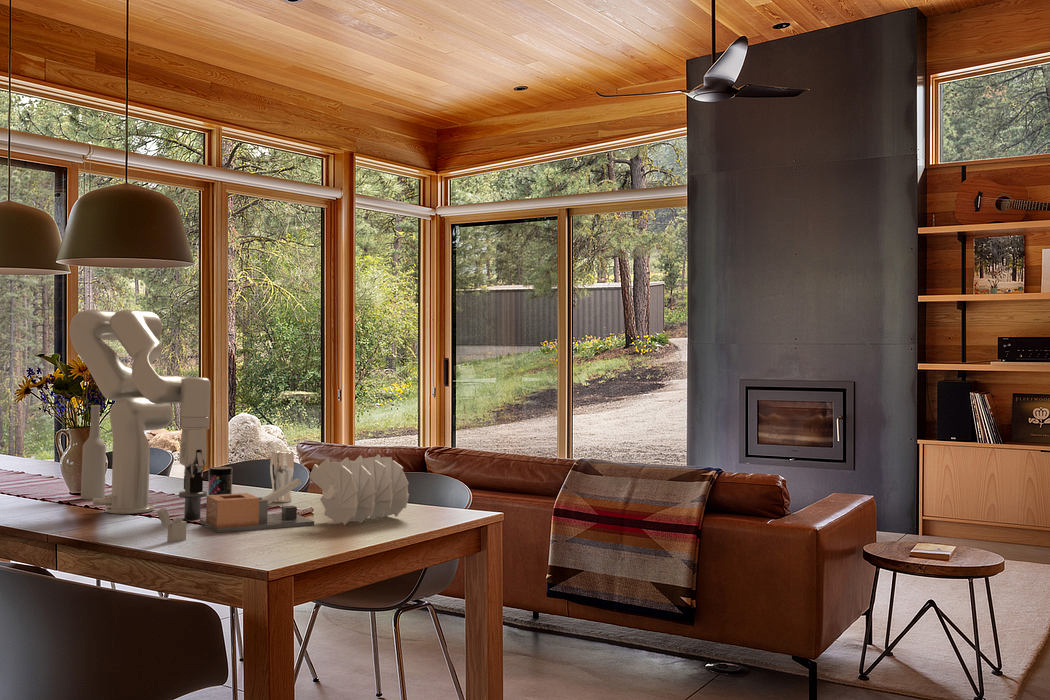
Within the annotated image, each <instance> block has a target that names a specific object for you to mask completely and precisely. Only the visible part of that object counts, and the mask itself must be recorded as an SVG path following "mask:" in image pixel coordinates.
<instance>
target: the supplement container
mask: <svg viewBox="0 0 1050 700" xmlns="http://www.w3.org/2000/svg"><path fill="white" fill-rule="evenodd" d="M232 486H233V467H232V466H210V467H208V486H207V487H208V491H207V495H222V494H233V491H232V490H233V487H232Z"/></svg>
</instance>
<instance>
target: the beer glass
mask: <svg viewBox="0 0 1050 700" xmlns="http://www.w3.org/2000/svg"><path fill="white" fill-rule="evenodd" d="M294 458H295V457H294V451H290V450H289V451H288V450H277V451H276V450H273V451H270V461H269V462H270V463H269V469H270V470H269V471H270V472H269V473H270V479H271V486H272V491H271V493H273V492H275V491H276V490H278V489H280V488H281V487H283V486H285V485H286V484H288V483H290V482H292V481H293V474H294V469H295V468H294V467H295V466H294V465H295V463H294V462H295V459H294ZM291 502H292V495H291V491H289V492H288V493H286V494H284V495H283V496H281V497H279V498H278V499H276V500H274V501H273V502H272V503H276V504H281V503H282V504H283V503H291Z"/></svg>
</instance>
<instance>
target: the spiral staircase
mask: <svg viewBox="0 0 1050 700" xmlns="http://www.w3.org/2000/svg"><path fill="white" fill-rule="evenodd" d="M309 479H310V480H311V481H312V482H314V484H316V485H317V486H318V488H320V489H321V490H322V497H321V498H320V499H319V500H320V502H321V504H322V505H323V507H324V509H325V510H324V514H323V515H324V516H326V517H327V518H329V519H331V520H332V525H336V524H341V523H342V524H343V525H344V526H346V525H347V524H348V523H349V522H355V521H358V522H359V524H363V522H364V521H365V520H366V519H367V518H369V519H370V520H372V519H375V518H378V517H379V518H380V519H383V518H384V517H388V516H392V515H393V516H395V517H398V516H399V515H400V514H401V512H402V511H403V510H404V509H406V508H407V506H408V501H409V498H410V493H409V485H410V483H409V481H408V479H407V476H406V474H405V472H404V467H403V466H402V465H401V464H399V463H398V462H396V460H393V456H381V454H380V453H377V454H376V455H375V456H371V457H370V456H369V457H365V458H363V456H362V455H359V456H358V457H357V458H356V459H354V460H350V458H349V457H345V458H344V459H343V460H341V461H331V460H330V458H328V457H327V458H325V460H323V461H322V462H321V463H320V464H319V465H318V464H314V465H313V466H312V469H311V472H310V474H309Z"/></svg>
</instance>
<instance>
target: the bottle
mask: <svg viewBox="0 0 1050 700" xmlns="http://www.w3.org/2000/svg"><path fill="white" fill-rule="evenodd" d="M100 410H101V405H100V404H99V405H96V404H94V405H93V404H92V405H90V425H89V426H90V427H89V434H88V435H89V436H88V438H87V439H86V441H84V443H83V445H82V452H81V453H82V455H81V456H82V457H81V459H82V460H81V480H80V483H81V484H80V499H81V500H87V501H88V500H89V501H90V500H92V501H93V499H94V498H105V497H106V461H107V460H106V459H107V458H106V455H107V444H106V443H105V442H104V440H103V439H102V438H101V434H100V433H101V432H100V427H101V426H100V419H101V418H100V417H101V416H100V415H101V414H100Z"/></svg>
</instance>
